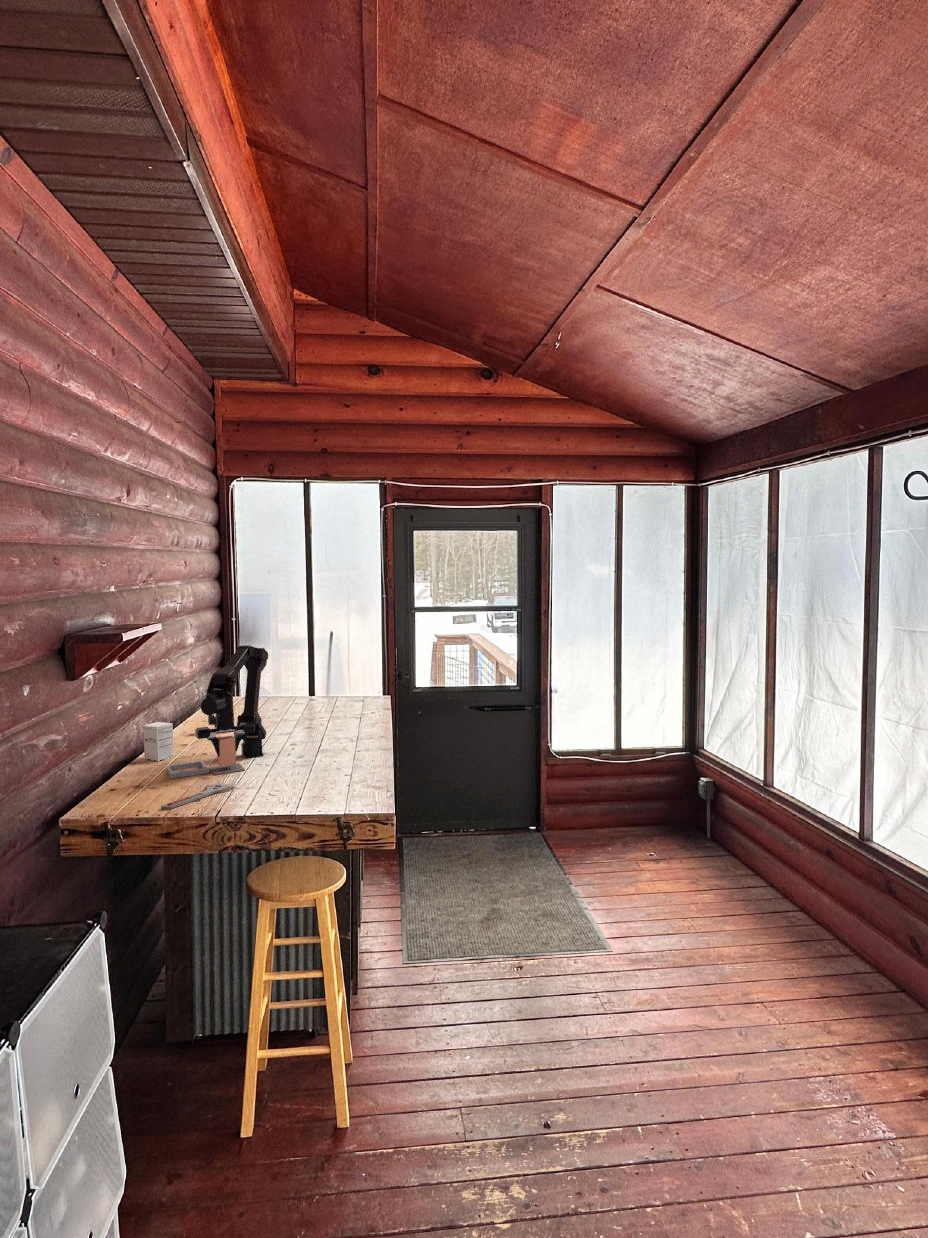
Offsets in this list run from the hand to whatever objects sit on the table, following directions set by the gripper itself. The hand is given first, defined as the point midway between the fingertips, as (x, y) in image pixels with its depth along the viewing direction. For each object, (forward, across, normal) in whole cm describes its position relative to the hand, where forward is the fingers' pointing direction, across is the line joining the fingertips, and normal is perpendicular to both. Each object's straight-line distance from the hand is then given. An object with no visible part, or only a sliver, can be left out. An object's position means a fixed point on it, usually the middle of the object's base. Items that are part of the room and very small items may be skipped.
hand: (226, 755), depth 247 cm
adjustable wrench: (+6, +13, +27) cm, 30 cm away
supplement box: (+5, +18, -30) cm, 35 cm away
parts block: (+3, 0, 0) cm, 3 cm away
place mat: (+5, 0, 0) cm, 5 cm away
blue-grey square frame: (+5, +12, -5) cm, 14 cm away
